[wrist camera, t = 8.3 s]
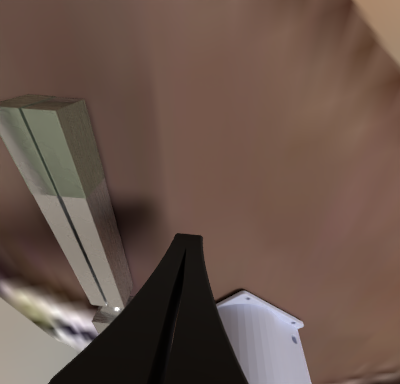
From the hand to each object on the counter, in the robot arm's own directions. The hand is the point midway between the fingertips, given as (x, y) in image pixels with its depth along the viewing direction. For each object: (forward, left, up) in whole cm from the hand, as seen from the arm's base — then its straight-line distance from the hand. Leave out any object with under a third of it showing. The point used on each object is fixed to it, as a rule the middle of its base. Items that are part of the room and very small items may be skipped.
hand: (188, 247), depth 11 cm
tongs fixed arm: (+3, +10, -4) cm, 11 cm away
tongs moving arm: (+4, +8, -4) cm, 10 cm away
